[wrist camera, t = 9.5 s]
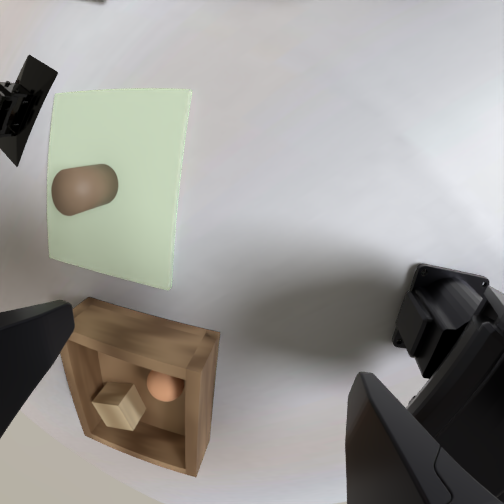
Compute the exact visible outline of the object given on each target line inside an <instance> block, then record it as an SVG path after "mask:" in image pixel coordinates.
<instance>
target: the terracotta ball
mask: <svg viewBox="0 0 504 504" xmlns="http://www.w3.org/2000/svg"><path fill="white" fill-rule="evenodd" d="M147 387H148V390H149V392H150V393H151V395H152V396H153V397H154V398H156V399H158V400H160V401H164V402H169V401H173V400H175V399H177V398H178V397H179V396H180V395H181V393H182V392H183V389H184V380H183V379H180V378H177V377H173V376H170V375H167V374H163V373H160V372H157V371H153V370H152V371H151V372H150V373H149V375H148V378H147Z"/></svg>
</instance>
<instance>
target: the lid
mask: <svg viewBox="0 0 504 504" xmlns="http://www.w3.org/2000/svg"><path fill="white" fill-rule="evenodd" d="M191 97H192V90H190V89H168V88H133V89H106V90H90V91H77V92H67V93H58V94H55V97H54V104H53V112H52V120H51V129H50V140H49V153H48V171H47V229H48V248H49V258H52V259H55V260H58V261H61V262H65V263H68V264H71V265H75V266H78V267H82V268H85V269H89V270H92V271H96V272H99V273H103V274H106V275H110V276H114V277H117V278H121V279H125V280H129V281H132V282H136V283H140V284H144V285H148V286H152V287H156V288H160V289H164V290H168V291H169V290H170V289H171V288H172V274H173V258H174V244H175V231H176V219H177V208H178V197H179V188H180V178H181V170H182V161H183V153H184V145H185V138H186V130H187V123H188V116H189V110H190V103H191Z"/></svg>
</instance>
